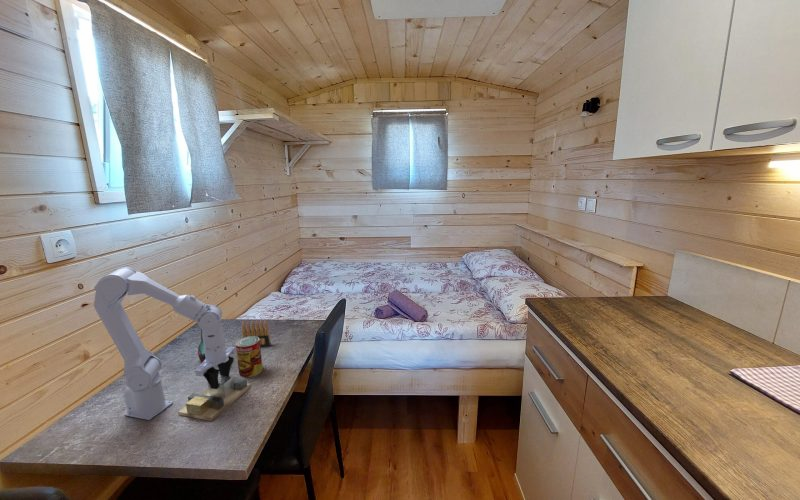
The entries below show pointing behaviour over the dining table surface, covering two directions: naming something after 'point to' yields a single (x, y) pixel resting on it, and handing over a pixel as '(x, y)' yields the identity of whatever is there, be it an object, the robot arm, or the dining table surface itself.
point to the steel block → (222, 387)
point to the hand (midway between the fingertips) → (219, 384)
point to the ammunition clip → (257, 332)
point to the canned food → (249, 356)
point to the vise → (212, 413)
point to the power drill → (201, 350)
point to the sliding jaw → (202, 403)
